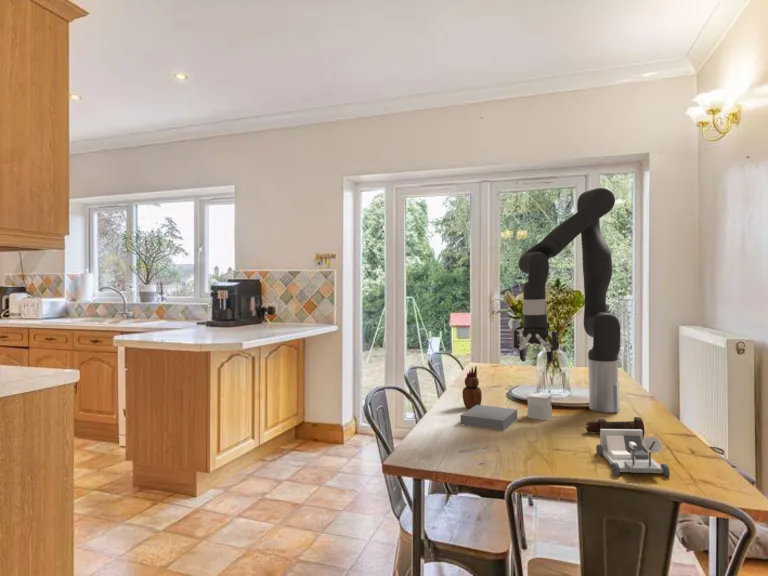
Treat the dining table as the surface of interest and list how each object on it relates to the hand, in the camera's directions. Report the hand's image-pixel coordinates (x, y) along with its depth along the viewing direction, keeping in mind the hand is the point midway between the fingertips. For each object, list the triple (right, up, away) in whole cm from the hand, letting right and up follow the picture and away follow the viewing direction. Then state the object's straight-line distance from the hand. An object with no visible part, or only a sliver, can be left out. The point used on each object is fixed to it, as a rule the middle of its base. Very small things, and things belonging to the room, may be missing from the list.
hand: (536, 362), depth 161 cm
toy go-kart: (+10, -19, -43) cm, 48 cm away
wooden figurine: (-19, -19, +13) cm, 30 cm away
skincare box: (+1, -18, 0) cm, 18 cm away
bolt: (+17, -18, -19) cm, 31 cm away
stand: (-16, -19, -3) cm, 25 cm away
